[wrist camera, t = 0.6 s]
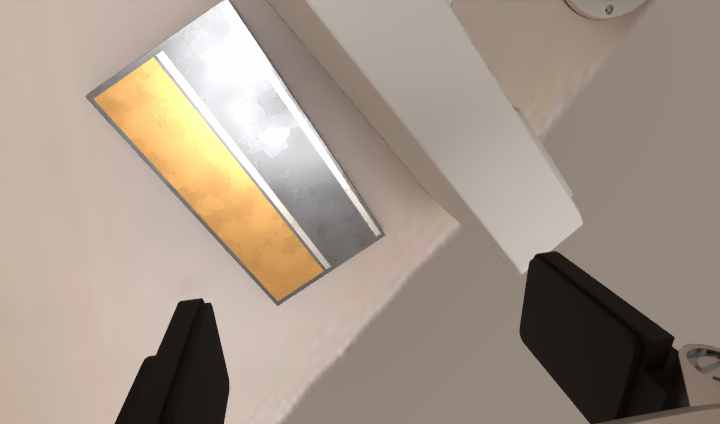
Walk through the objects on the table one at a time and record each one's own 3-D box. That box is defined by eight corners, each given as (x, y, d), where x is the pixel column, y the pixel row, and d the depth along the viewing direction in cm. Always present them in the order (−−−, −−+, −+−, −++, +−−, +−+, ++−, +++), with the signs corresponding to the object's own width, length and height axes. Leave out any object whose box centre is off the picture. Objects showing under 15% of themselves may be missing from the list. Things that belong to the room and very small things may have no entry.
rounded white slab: (488, 154, 42) (624, 214, 26) (434, 201, 43) (533, 288, 26) (305, -106, 31) (340, -294, 14) (236, -36, 32) (194, -139, 15)
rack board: (228, 0, 32) (226, -3, 31) (382, 230, 43) (385, 235, 42) (91, 94, 33) (84, 96, 31) (277, 299, 43) (277, 306, 42)
